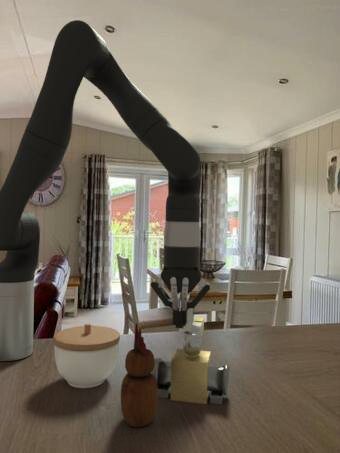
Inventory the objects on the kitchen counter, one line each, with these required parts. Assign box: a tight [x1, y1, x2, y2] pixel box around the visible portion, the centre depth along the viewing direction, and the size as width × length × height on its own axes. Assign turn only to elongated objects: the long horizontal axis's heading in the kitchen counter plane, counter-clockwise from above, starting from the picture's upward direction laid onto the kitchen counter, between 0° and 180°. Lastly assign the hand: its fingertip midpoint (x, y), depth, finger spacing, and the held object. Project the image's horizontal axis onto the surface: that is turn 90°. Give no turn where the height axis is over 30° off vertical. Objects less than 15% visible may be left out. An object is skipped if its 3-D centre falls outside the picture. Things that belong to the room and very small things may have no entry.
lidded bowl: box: [53, 323, 121, 389], centre depth 75 cm, size 13×13×11 cm
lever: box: [182, 316, 205, 355], centre depth 75 cm, size 14×3×3 cm, turn 169°
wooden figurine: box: [120, 322, 158, 428], centre depth 60 cm, size 7×6×15 cm
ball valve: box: [151, 348, 230, 405], centre depth 70 cm, size 14×6×8 cm, turn 79°
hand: (180, 327), depth 79 cm, fingers closed
